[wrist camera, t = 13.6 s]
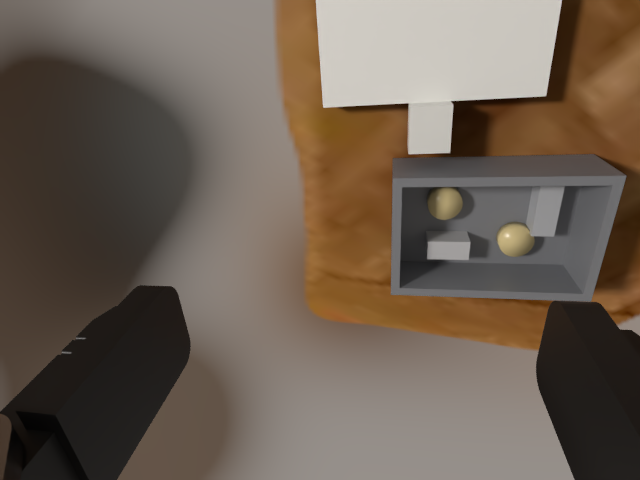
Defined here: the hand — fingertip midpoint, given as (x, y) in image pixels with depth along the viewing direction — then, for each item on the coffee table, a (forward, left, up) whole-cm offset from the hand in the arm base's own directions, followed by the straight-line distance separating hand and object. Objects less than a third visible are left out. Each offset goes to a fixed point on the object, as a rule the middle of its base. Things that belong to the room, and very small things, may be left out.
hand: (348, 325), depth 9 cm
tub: (+12, +10, -33) cm, 37 cm away
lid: (-4, +4, -33) cm, 34 cm away
